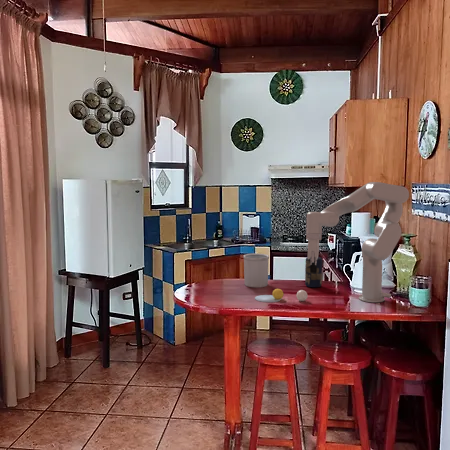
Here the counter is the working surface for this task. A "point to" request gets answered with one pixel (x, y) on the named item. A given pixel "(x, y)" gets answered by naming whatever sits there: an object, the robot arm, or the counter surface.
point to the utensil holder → (256, 270)
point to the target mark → (266, 298)
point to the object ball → (277, 293)
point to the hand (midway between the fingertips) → (313, 272)
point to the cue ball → (302, 295)
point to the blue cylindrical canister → (313, 274)
